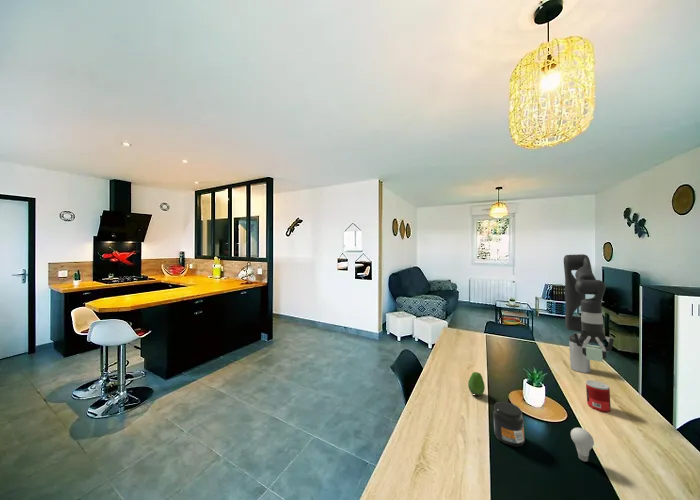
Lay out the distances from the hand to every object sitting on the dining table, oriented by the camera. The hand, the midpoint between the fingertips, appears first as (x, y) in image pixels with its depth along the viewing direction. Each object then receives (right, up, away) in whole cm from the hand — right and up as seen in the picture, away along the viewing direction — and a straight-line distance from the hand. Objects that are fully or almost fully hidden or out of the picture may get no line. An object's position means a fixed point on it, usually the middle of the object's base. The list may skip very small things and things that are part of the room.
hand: (594, 356), depth 119 cm
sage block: (0, -1, 0) cm, 1 cm away
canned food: (+1, -24, -1) cm, 24 cm away
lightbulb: (-33, -24, -30) cm, 51 cm away
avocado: (-50, -26, +13) cm, 57 cm away
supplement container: (-52, -25, -18) cm, 61 cm away
